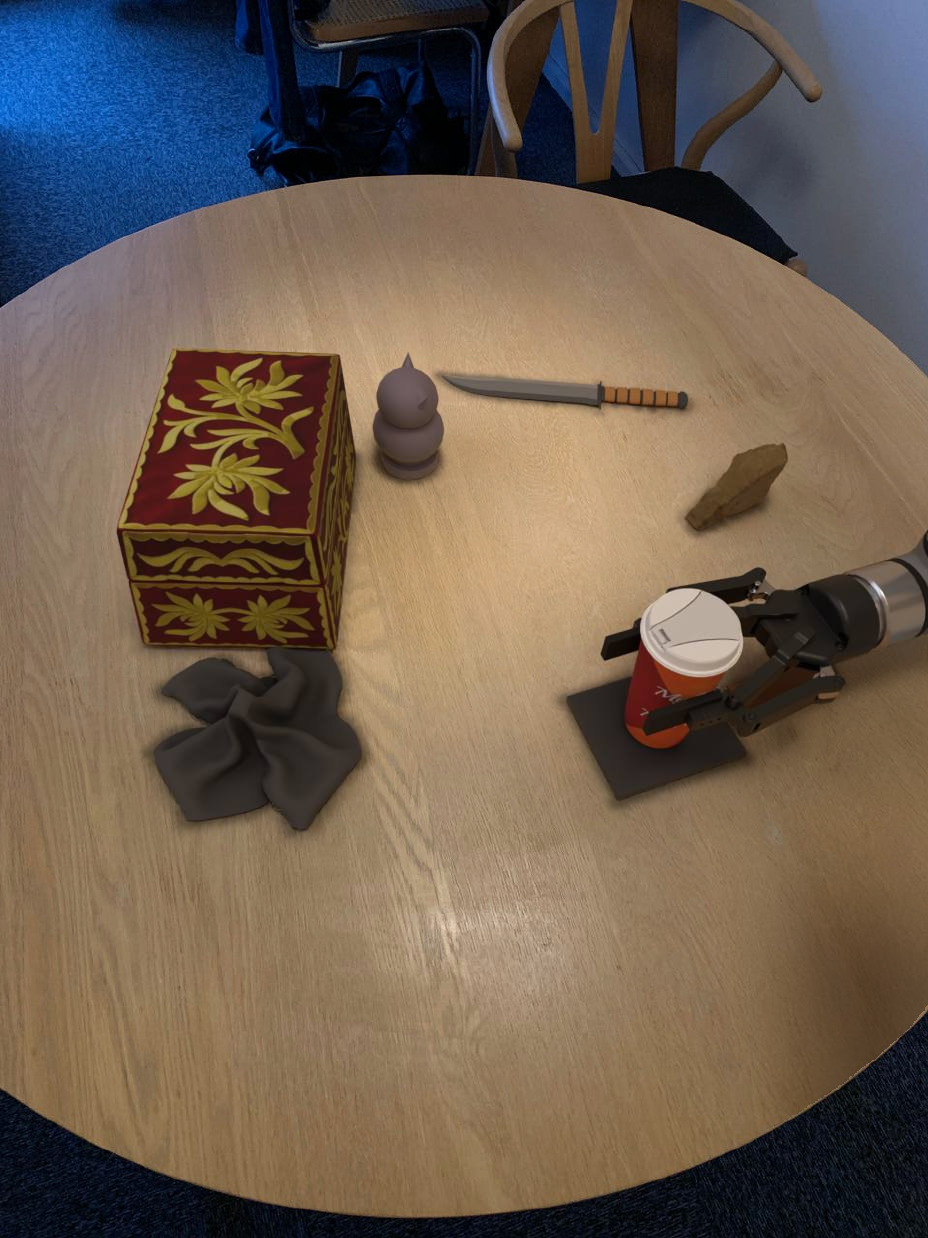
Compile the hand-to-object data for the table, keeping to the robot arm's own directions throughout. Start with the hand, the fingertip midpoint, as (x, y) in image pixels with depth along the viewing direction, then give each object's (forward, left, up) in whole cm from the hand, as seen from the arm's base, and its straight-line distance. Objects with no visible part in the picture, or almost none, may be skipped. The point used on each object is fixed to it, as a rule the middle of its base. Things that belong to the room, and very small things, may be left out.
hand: (625, 685), depth 78 cm
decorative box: (+34, +24, -10) cm, 43 cm away
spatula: (0, -11, -10) cm, 15 cm away
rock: (+23, -26, -10) cm, 36 cm away
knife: (+46, -17, -10) cm, 50 cm away
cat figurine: (+41, +5, -10) cm, 43 cm away
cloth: (+13, +29, -10) cm, 33 cm away
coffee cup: (0, -5, -9) cm, 10 cm away
